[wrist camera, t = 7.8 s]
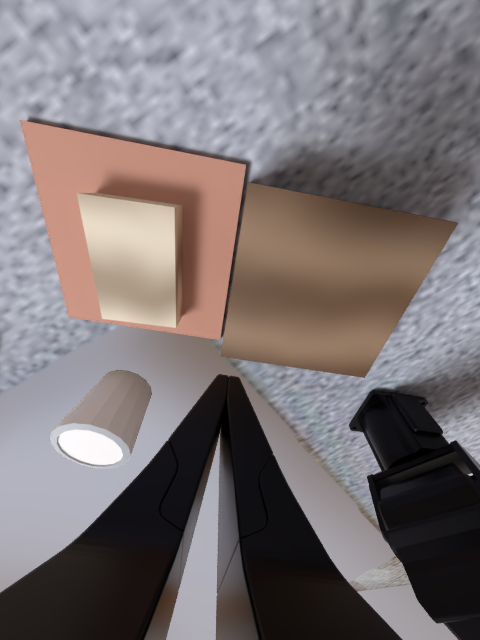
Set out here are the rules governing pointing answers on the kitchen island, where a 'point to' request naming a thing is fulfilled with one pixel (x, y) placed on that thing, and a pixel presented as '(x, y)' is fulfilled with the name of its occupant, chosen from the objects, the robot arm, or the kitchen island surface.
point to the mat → (147, 184)
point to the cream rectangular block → (135, 257)
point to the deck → (324, 279)
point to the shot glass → (104, 422)
